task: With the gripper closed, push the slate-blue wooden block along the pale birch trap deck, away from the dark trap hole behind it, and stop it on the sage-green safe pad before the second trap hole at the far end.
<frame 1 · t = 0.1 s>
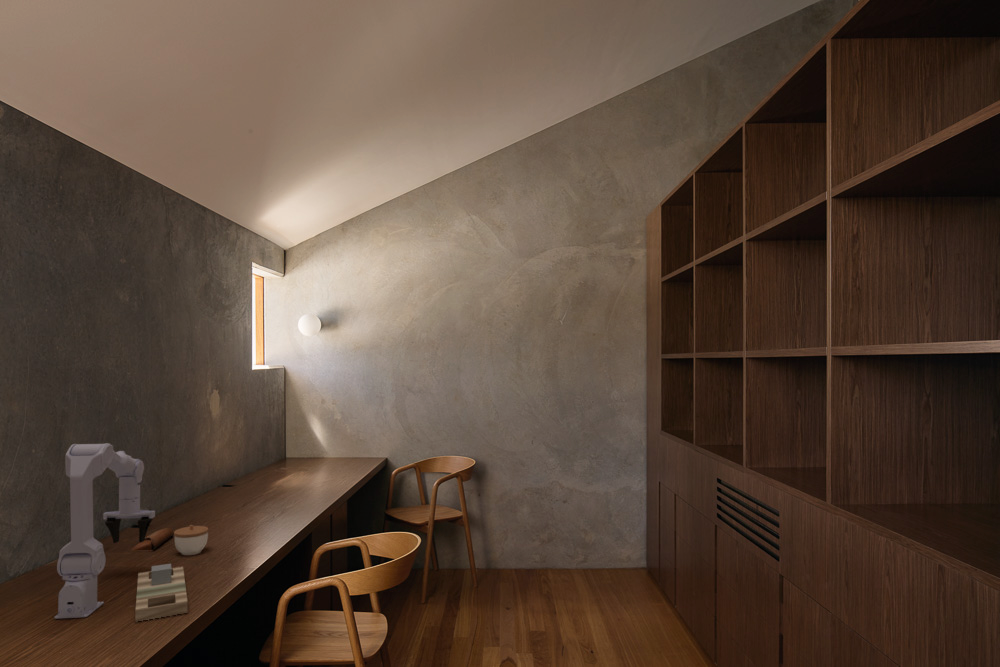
hand: (129, 541, 201), 10 cm above the table, tool pointing down, fingers open, 7 cm apart
block: (161, 581, 186), point 3 cm above the table, touching trap deck
lidded jar: (191, 553, 222), on the table
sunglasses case: (152, 546, 232), on the table
trap deck: (161, 597, 182), on the table
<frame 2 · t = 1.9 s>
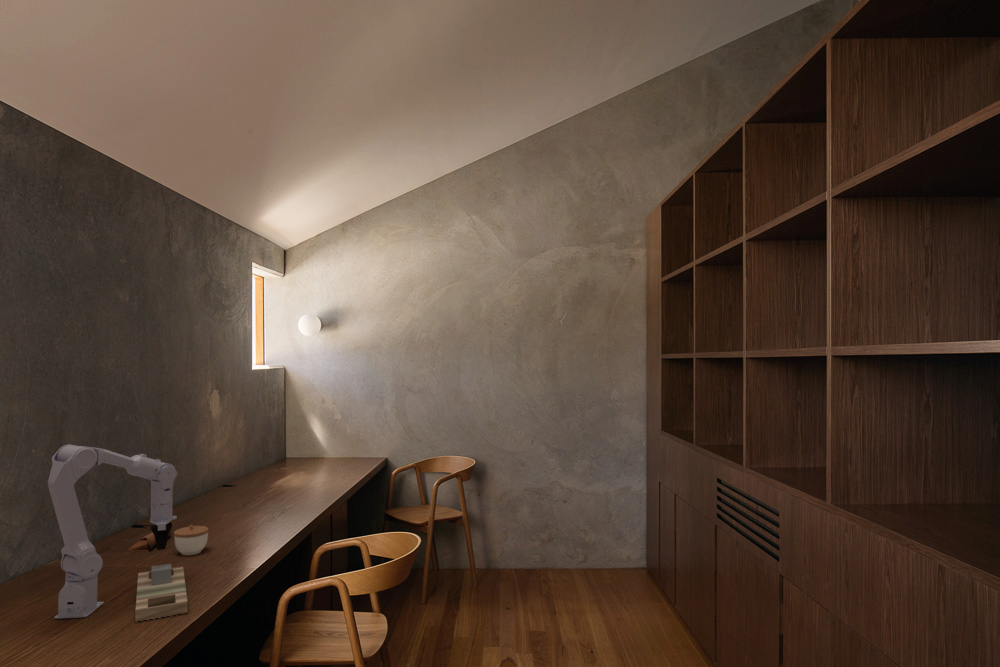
hand: (161, 549, 193), 10 cm above the table, tool pointing down, fingers closed
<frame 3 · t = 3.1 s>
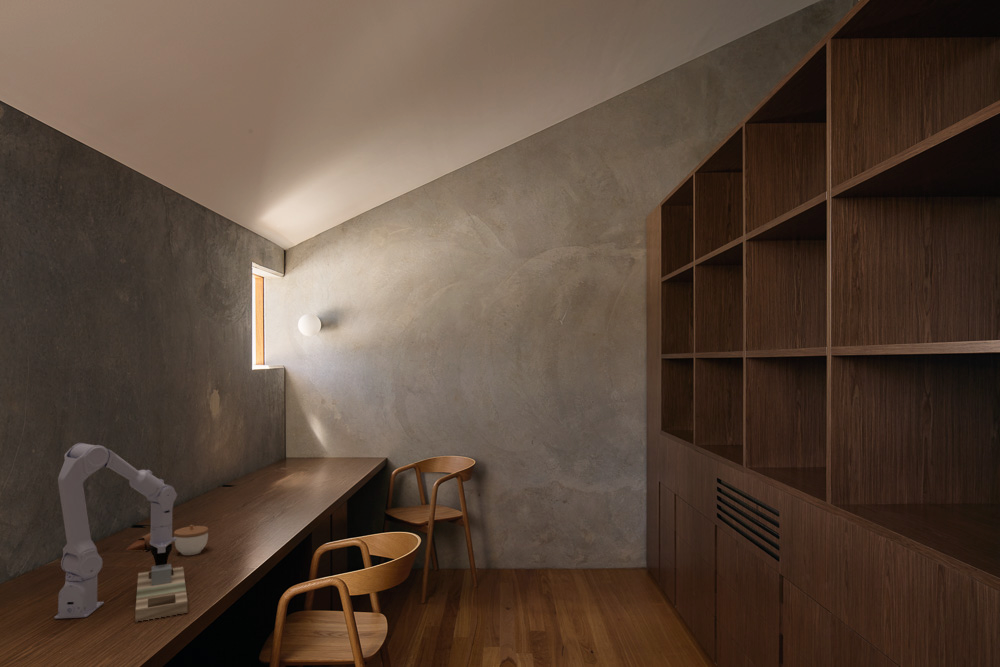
hand: (161, 571, 192), 4 cm above the table, tool pointing down, fingers closed
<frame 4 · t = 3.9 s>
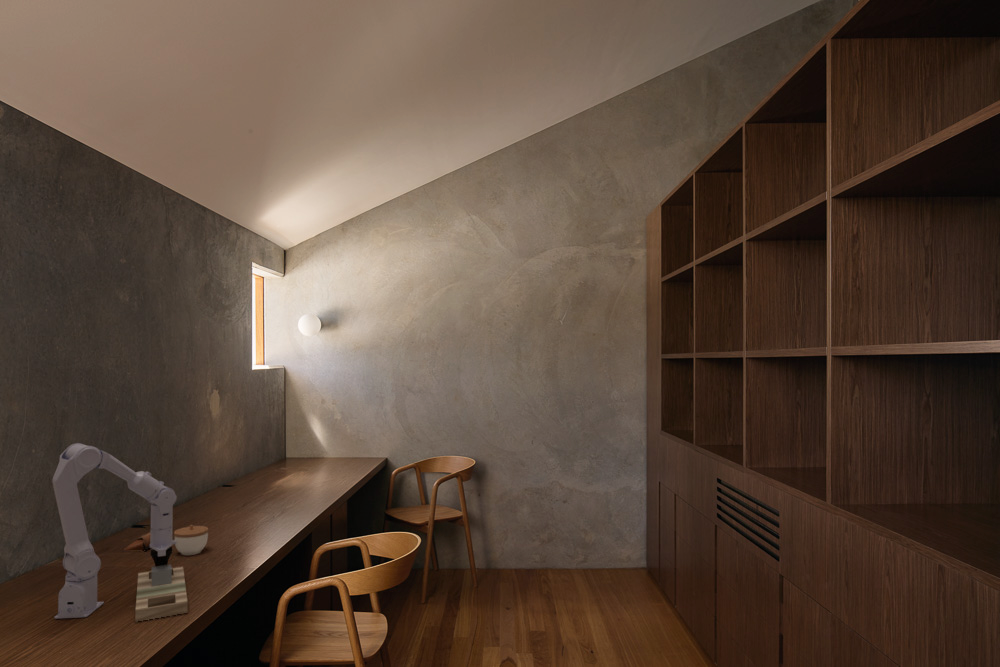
hand: (161, 574, 189), 4 cm above the table, tool pointing down, fingers closed
block: (161, 582, 186), point 3 cm above the table, touching gripper
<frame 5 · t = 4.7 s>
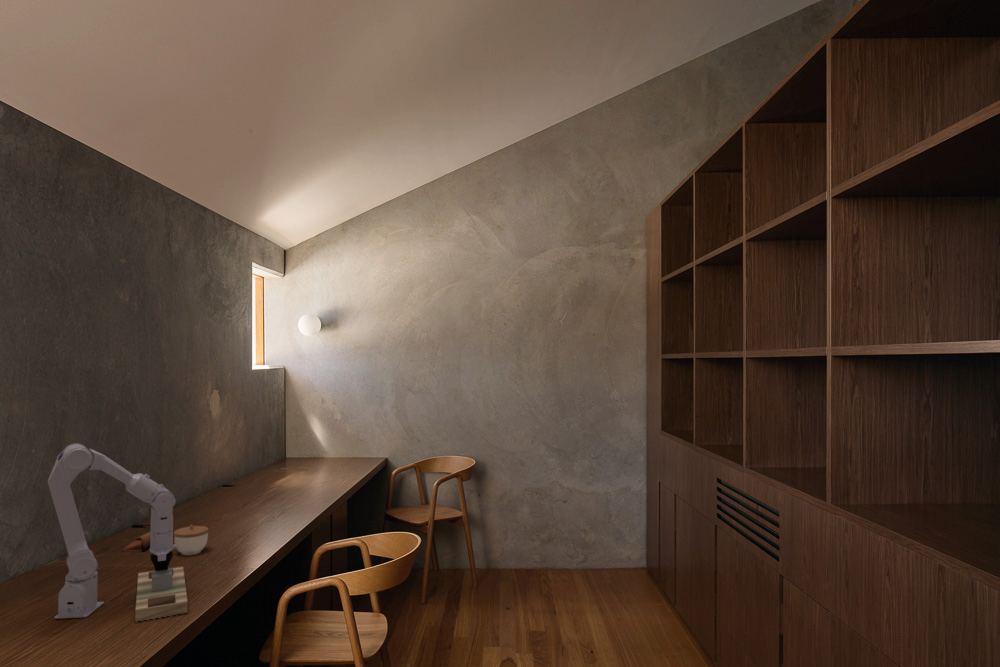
hand: (161, 579, 185), 4 cm above the table, tool pointing down, fingers closed
block: (162, 587, 182), point 3 cm above the table, touching gripper
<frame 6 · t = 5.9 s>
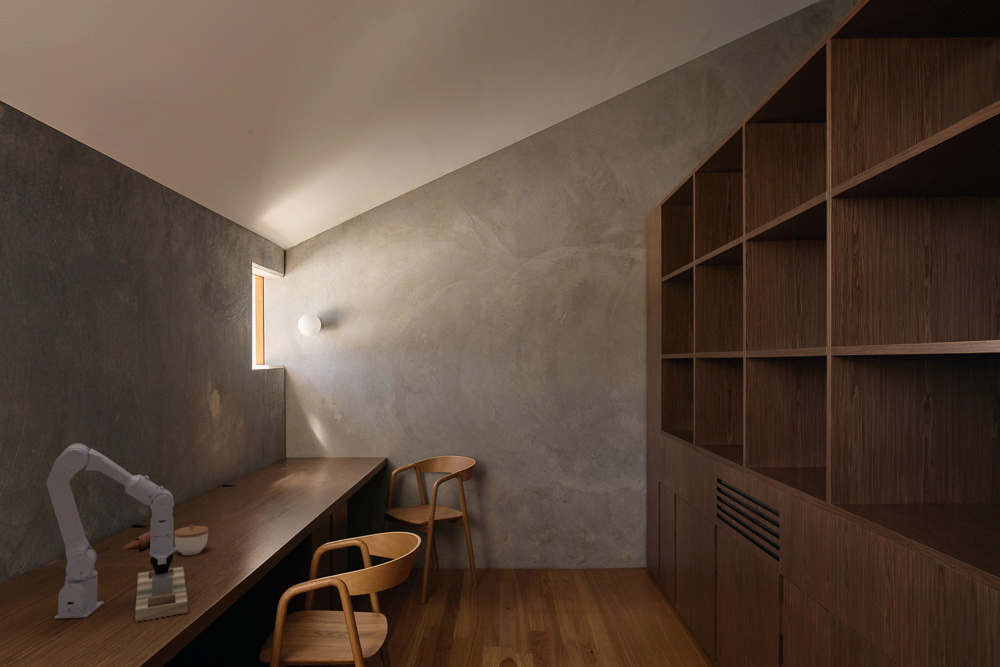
hand: (161, 582, 182), 4 cm above the table, tool pointing down, fingers closed
block: (162, 591, 179), point 3 cm above the table, touching gripper, trap deck
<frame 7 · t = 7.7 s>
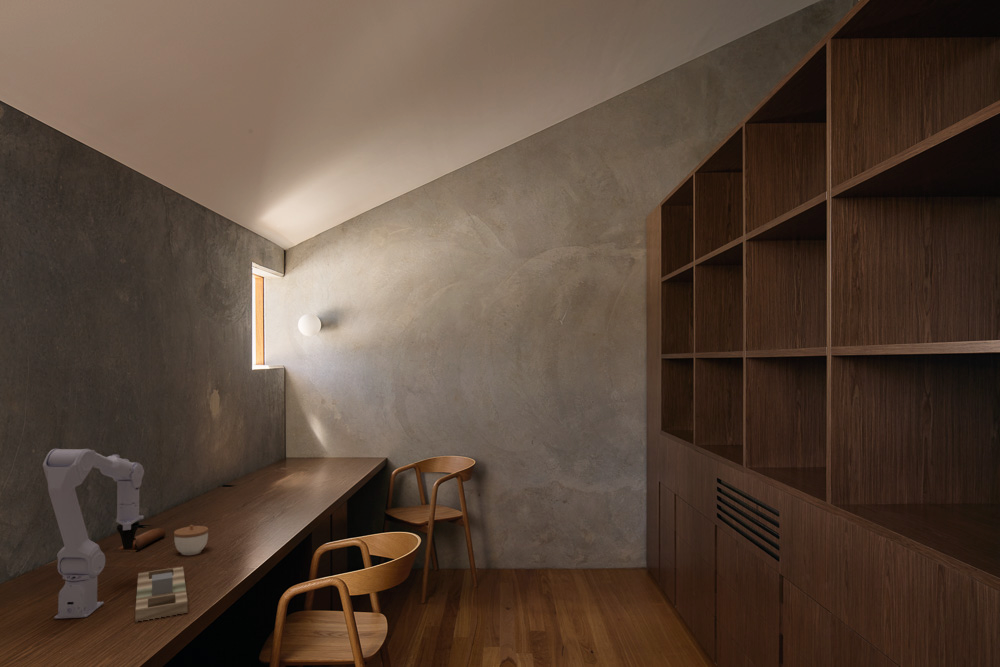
hand: (127, 548, 193), 10 cm above the table, tool pointing down, fingers closed
block: (162, 591, 179), point 3 cm above the table, touching trap deck
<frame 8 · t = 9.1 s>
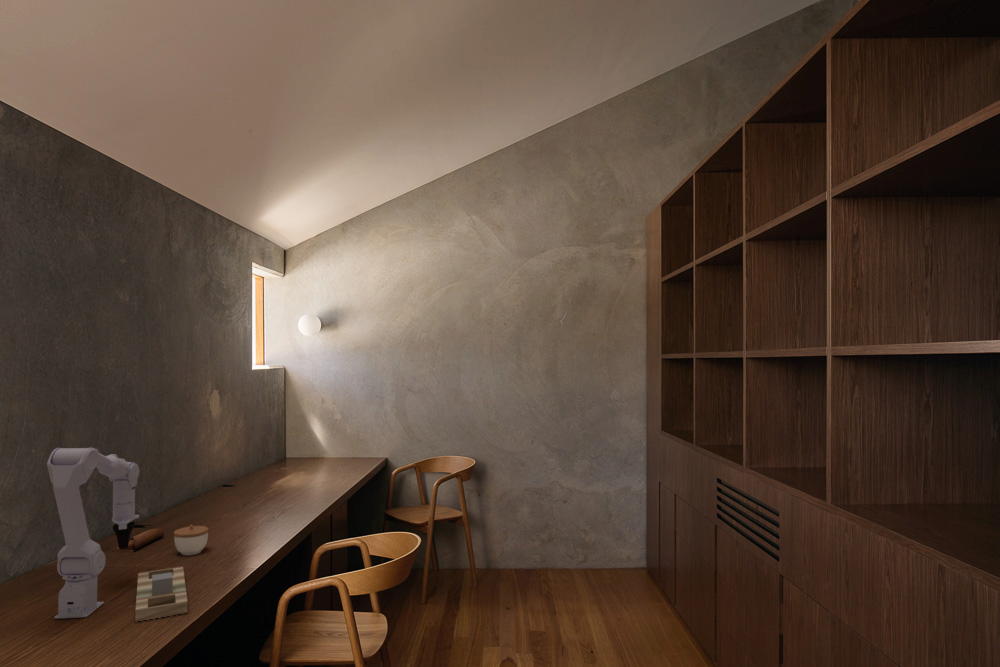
hand: (123, 548, 194), 10 cm above the table, tool pointing down, fingers closed
at the end: block 0.8 cm from the target spot on the trap deck, point 3.0 cm above the trap deck's base; block tilted 0° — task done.
